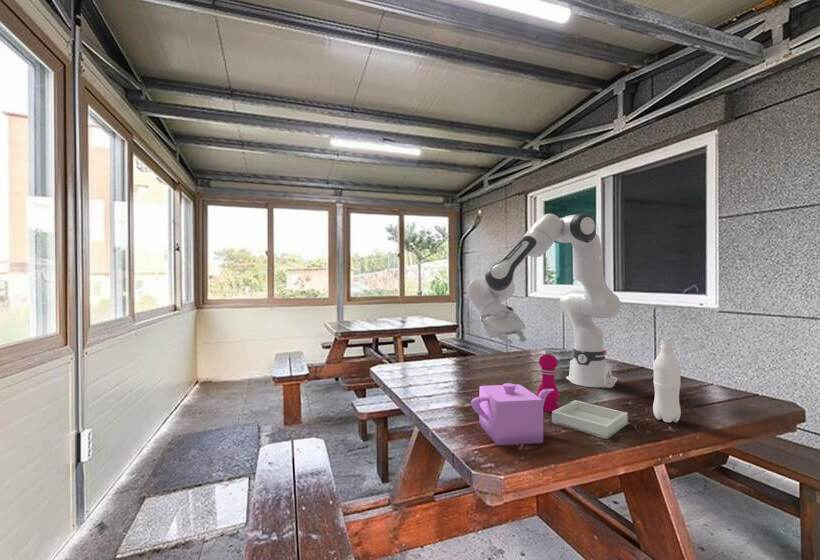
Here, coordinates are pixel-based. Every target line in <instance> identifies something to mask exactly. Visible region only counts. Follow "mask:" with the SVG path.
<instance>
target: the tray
mask: <svg viewBox="0 0 820 560" xmlns="http://www.w3.org/2000/svg"><path fill="white" fill-rule="evenodd" d="M551 424H555V425H558V426H561V427H564V428H568V429H571V430H575V431H577V432H580V433H584V434H588V435H591V436H593V437H598V438H601V439H604V440H608V439H610V438H611V437H613V436H614V435H615V434H616V433H618V432H619V431H621V430H622V429H623V428H624V427H626V426H628V412H626V411H625V412H624V411H620V410H615V409H613V408H609V407H605V406H600V405H596V404H592V403H589V402H584V401H580V400H576V399H575V400H572V401H570V402H569V403H567V404H565V405H562V406H560V407H558V409H556V410H554V411H552V412H551Z"/></svg>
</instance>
